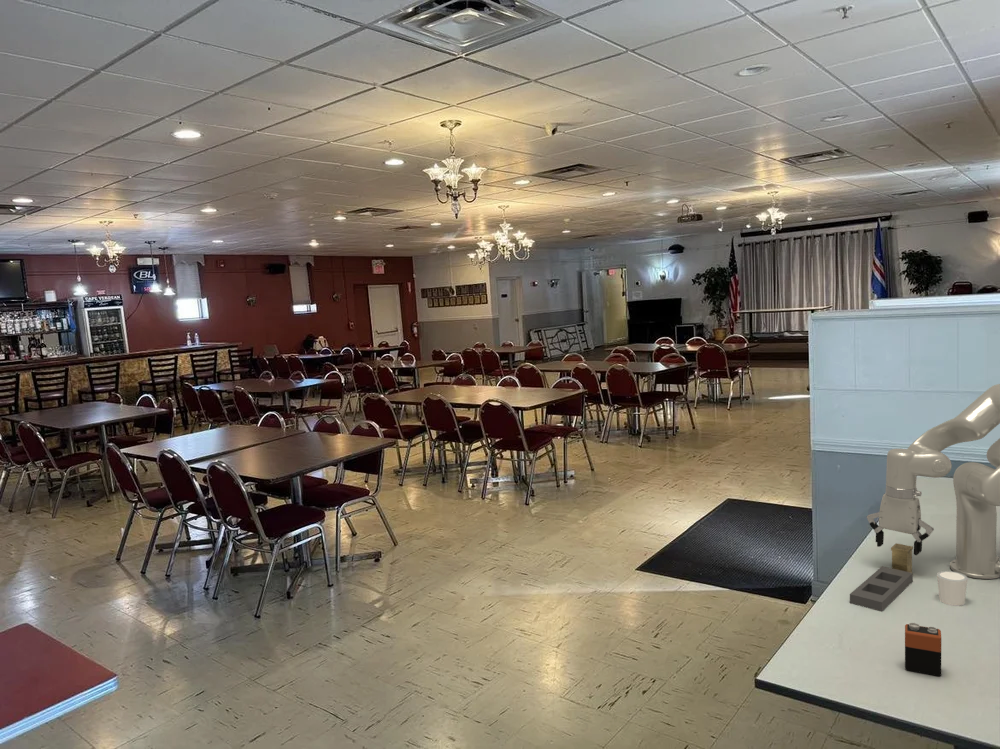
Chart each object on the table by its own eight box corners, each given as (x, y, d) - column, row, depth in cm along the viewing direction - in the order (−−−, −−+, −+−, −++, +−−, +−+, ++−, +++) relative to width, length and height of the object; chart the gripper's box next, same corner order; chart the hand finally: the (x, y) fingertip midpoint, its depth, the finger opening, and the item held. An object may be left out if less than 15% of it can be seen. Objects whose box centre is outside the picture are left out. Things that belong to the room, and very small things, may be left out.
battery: (905, 661, 158) (905, 619, 157) (940, 667, 154) (940, 624, 153) (904, 670, 154) (904, 627, 153) (941, 677, 151) (941, 633, 149)
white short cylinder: (963, 596, 186) (963, 571, 186) (971, 607, 180) (971, 581, 179) (933, 594, 189) (933, 569, 188) (940, 605, 182) (940, 580, 182)
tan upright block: (912, 573, 203) (912, 546, 202) (907, 577, 200) (907, 551, 199) (896, 569, 206) (896, 543, 205) (891, 574, 203) (890, 547, 202)
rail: (912, 581, 197) (912, 572, 197) (882, 611, 181) (882, 602, 181) (882, 574, 203) (882, 566, 203) (849, 602, 187) (849, 594, 187)
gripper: (938, 495, 197) (935, 553, 199) (873, 484, 209) (871, 539, 211) (930, 501, 191) (927, 561, 193) (863, 489, 204) (861, 545, 206)
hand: (898, 549), depth 202 cm, fingers open, 9 cm apart
